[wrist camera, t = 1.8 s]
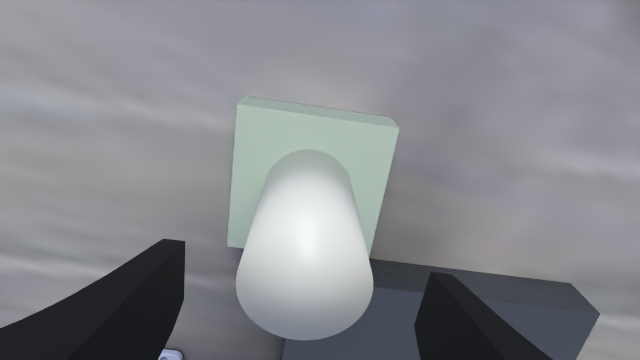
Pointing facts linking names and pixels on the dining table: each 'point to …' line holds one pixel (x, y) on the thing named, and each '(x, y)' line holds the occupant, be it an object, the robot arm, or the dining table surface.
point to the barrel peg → (305, 251)
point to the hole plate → (494, 290)
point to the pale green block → (308, 133)
